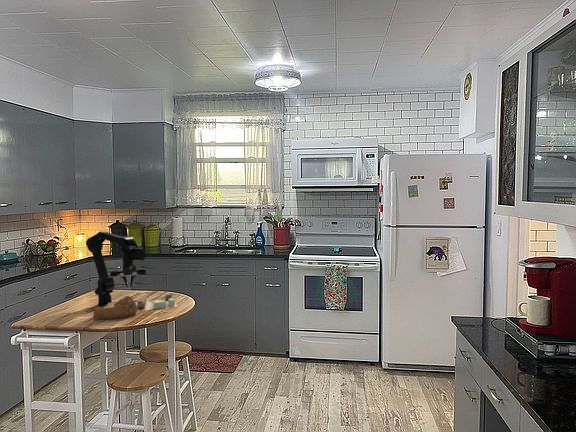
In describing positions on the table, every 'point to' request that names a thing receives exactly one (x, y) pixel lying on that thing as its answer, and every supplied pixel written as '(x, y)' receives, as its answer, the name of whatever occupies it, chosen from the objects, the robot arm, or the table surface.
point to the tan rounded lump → (117, 309)
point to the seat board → (150, 304)
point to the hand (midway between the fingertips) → (128, 287)
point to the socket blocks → (164, 303)
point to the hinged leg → (141, 303)
